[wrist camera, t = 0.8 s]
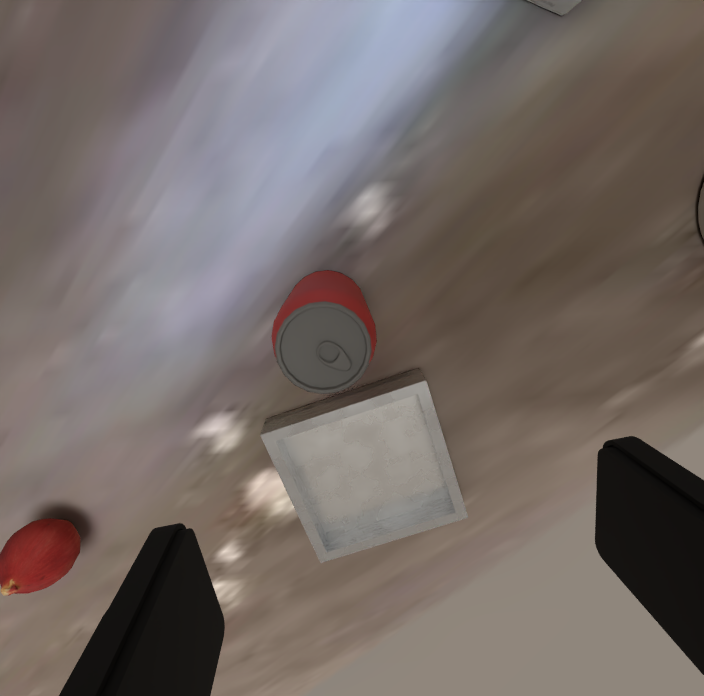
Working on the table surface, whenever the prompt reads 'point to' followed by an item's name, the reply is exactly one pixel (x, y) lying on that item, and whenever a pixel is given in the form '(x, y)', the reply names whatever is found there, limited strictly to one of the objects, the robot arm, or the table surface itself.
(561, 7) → the tea box
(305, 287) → the beer can
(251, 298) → the table surface
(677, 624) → the robot arm
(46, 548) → the onion
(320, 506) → the rimmed tray
